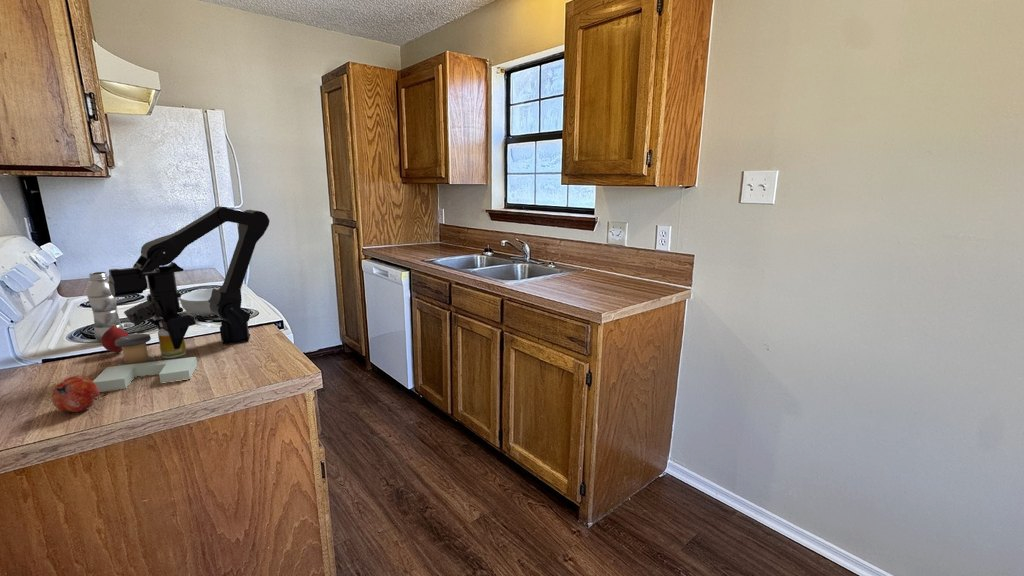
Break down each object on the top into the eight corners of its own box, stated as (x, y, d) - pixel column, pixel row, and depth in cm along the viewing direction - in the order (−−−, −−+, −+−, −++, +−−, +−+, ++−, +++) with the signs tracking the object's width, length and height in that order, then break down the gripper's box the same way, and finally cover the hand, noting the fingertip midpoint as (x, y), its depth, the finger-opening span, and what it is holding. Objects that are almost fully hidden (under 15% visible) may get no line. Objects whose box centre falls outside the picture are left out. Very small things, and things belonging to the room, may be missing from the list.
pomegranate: (75, 411, 100) (26, 403, 91) (94, 378, 102) (49, 367, 93) (103, 419, 98) (56, 412, 89) (122, 385, 101) (78, 375, 92)
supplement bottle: (188, 355, 125) (183, 320, 123) (164, 360, 121) (158, 325, 119) (183, 349, 129) (178, 316, 126) (159, 355, 125) (153, 320, 122)
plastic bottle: (92, 346, 130) (78, 276, 125) (100, 338, 136) (86, 271, 131) (121, 342, 133) (108, 274, 128) (127, 335, 138) (115, 270, 134)
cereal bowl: (170, 318, 155) (166, 298, 153) (209, 305, 171) (206, 286, 169) (214, 322, 152) (212, 301, 151) (250, 308, 168) (248, 289, 166)
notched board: (197, 365, 118) (196, 356, 118) (190, 380, 110) (188, 370, 110) (108, 376, 111) (106, 367, 111) (94, 392, 103) (91, 382, 103)
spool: (157, 357, 123) (153, 332, 121) (150, 367, 117) (145, 341, 115) (125, 361, 120) (120, 335, 119) (115, 371, 114) (110, 345, 112)
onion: (116, 358, 122) (110, 329, 120) (98, 355, 123) (92, 327, 121) (137, 350, 128) (132, 322, 126) (120, 348, 129) (115, 320, 127)
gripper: (112, 290, 119) (123, 346, 123) (138, 302, 109) (149, 364, 113) (163, 282, 128) (172, 335, 132) (191, 293, 118) (200, 351, 121)
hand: (172, 346), depth 124 cm, fingers closed on supplement bottle, 5 cm apart
